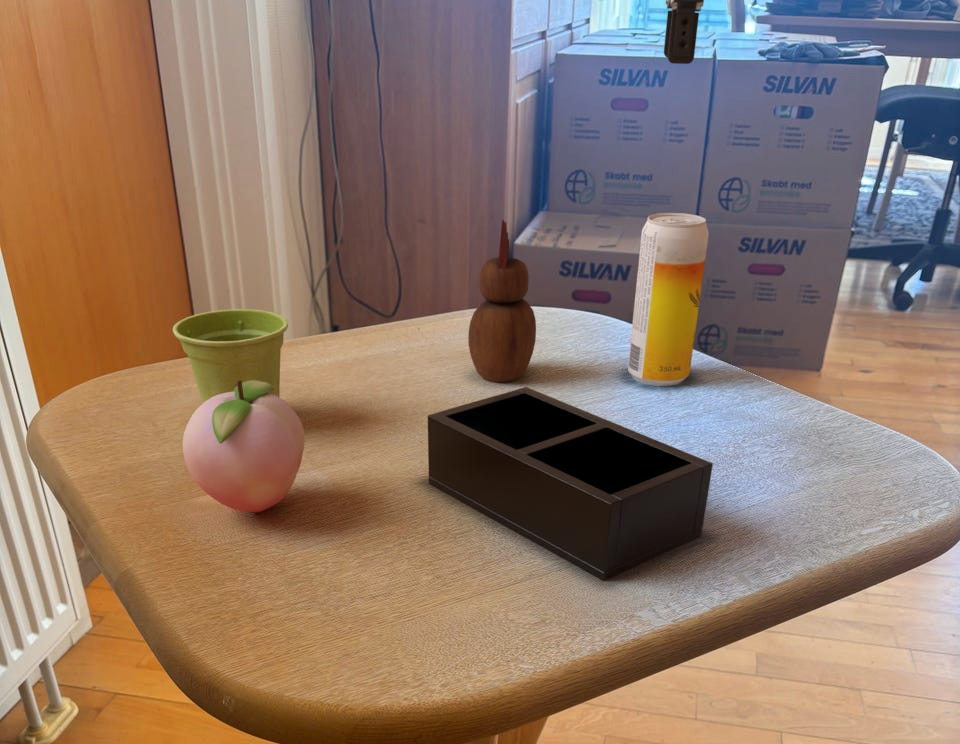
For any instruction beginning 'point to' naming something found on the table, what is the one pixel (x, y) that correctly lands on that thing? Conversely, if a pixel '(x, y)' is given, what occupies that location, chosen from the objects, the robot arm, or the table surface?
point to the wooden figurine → (502, 318)
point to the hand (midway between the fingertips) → (677, 60)
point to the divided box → (569, 479)
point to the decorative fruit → (244, 447)
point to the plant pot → (232, 348)
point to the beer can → (667, 297)
